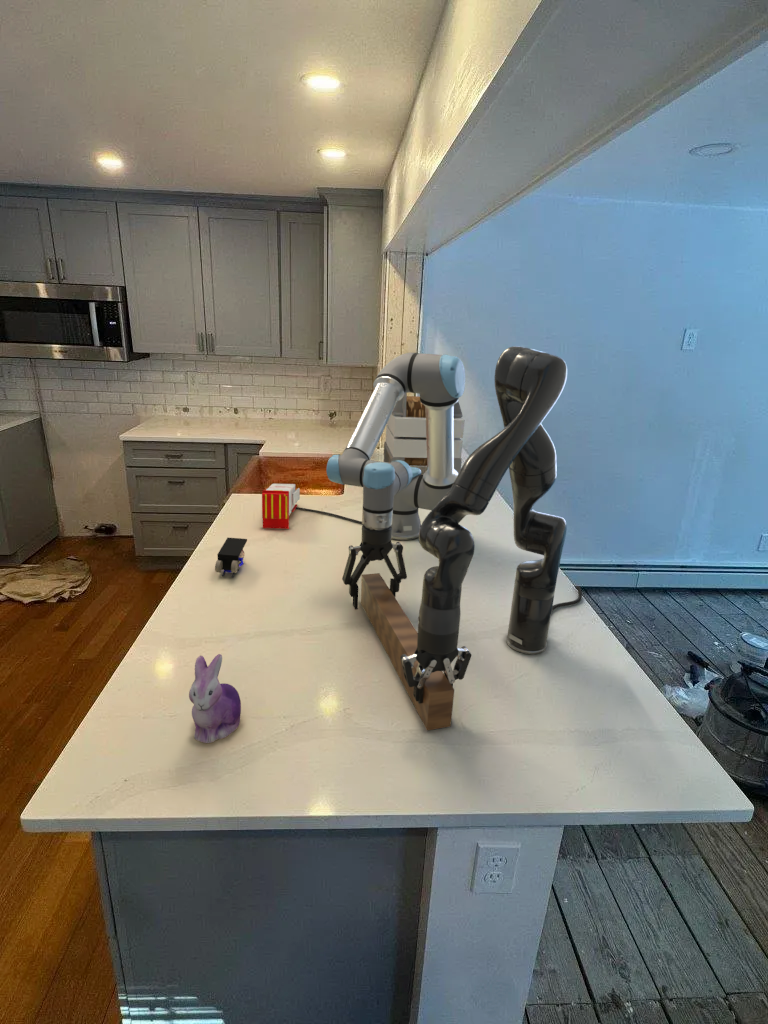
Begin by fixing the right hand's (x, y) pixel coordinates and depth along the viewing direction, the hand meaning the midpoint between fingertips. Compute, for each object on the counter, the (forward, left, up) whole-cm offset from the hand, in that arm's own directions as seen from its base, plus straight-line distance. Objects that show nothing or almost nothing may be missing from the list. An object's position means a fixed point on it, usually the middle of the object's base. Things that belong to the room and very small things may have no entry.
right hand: (432, 698), depth 110 cm
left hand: (-21, -37, -2) cm, 42 cm away
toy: (-45, -109, -4) cm, 118 cm away
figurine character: (-7, -81, -4) cm, 81 cm away
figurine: (+32, -25, -4) cm, 41 cm away
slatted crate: (-132, -114, -4) cm, 174 cm away
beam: (-10, -18, -4) cm, 21 cm away
